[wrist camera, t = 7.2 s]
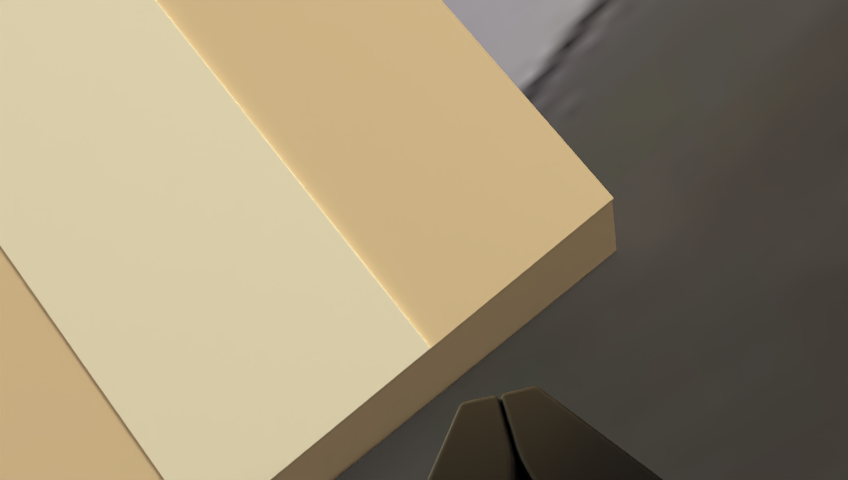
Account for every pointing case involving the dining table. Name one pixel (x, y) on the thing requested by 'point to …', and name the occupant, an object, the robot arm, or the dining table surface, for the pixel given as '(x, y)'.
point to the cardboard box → (459, 351)
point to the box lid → (248, 222)
